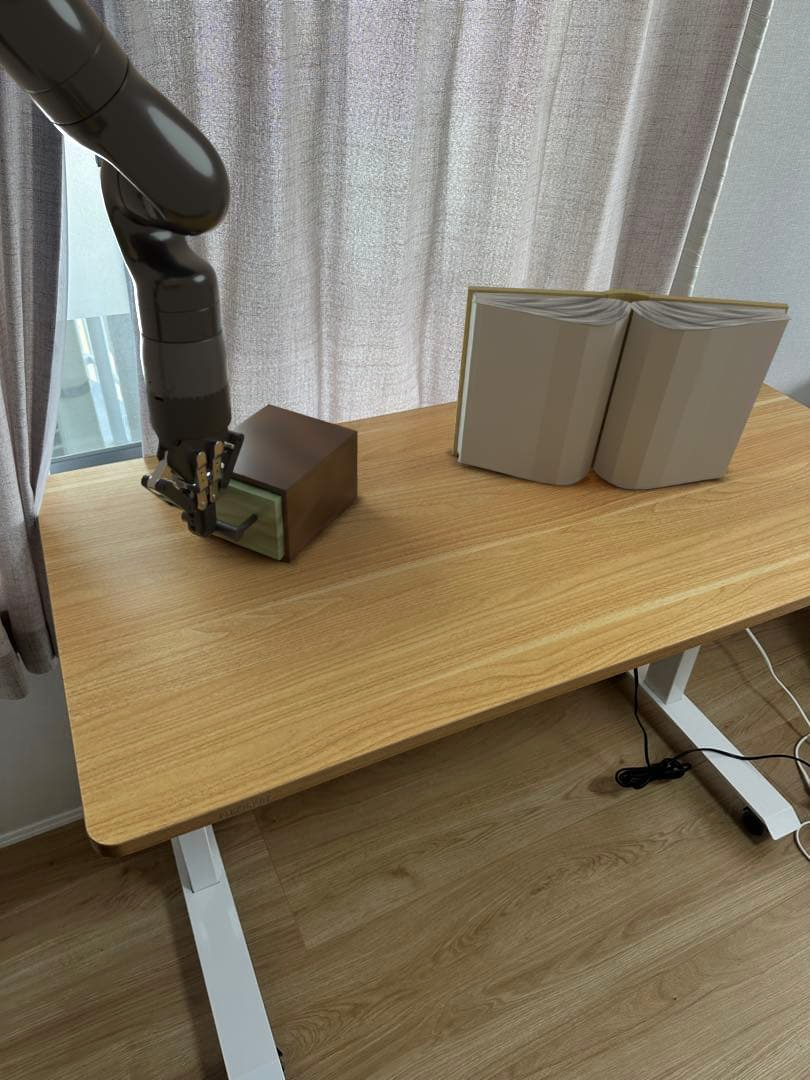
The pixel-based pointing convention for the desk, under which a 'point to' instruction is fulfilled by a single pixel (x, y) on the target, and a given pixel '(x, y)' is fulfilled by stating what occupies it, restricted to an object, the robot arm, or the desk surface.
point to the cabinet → (299, 469)
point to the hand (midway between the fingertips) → (203, 533)
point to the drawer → (250, 518)
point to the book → (609, 383)
